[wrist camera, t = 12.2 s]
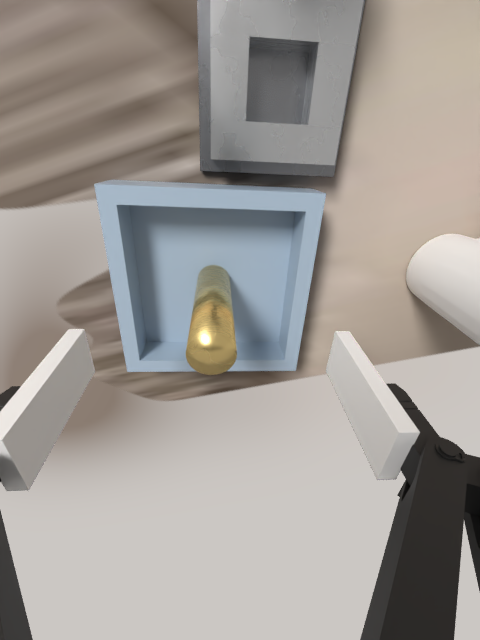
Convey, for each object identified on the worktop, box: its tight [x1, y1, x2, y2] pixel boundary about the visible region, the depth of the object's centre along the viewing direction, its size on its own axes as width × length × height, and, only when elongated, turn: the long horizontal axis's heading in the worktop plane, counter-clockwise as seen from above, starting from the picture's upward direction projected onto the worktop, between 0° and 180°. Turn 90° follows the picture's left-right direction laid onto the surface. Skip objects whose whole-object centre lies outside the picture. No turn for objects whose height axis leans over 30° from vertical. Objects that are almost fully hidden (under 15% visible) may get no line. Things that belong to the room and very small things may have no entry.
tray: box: [94, 180, 326, 372], centre depth 25 cm, size 15×15×4 cm
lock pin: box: [186, 265, 237, 375], centre depth 21 cm, size 3×3×11 cm
